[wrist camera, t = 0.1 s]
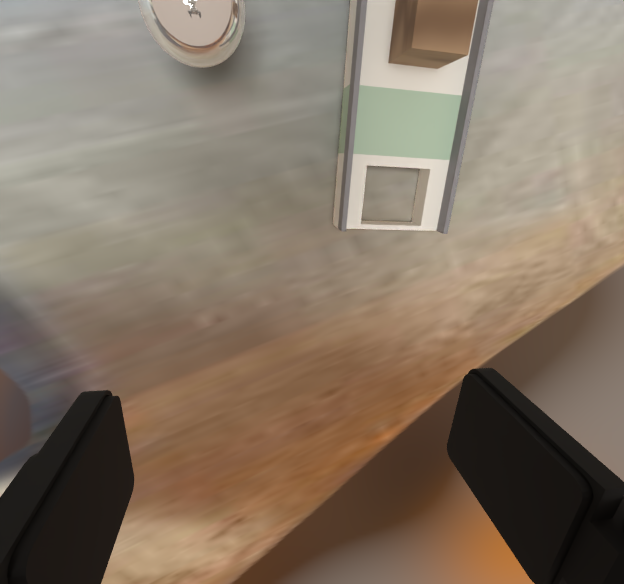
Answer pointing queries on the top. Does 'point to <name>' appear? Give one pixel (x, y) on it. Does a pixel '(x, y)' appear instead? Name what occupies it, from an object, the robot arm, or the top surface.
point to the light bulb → (195, 28)
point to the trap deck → (403, 118)
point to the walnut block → (431, 32)
